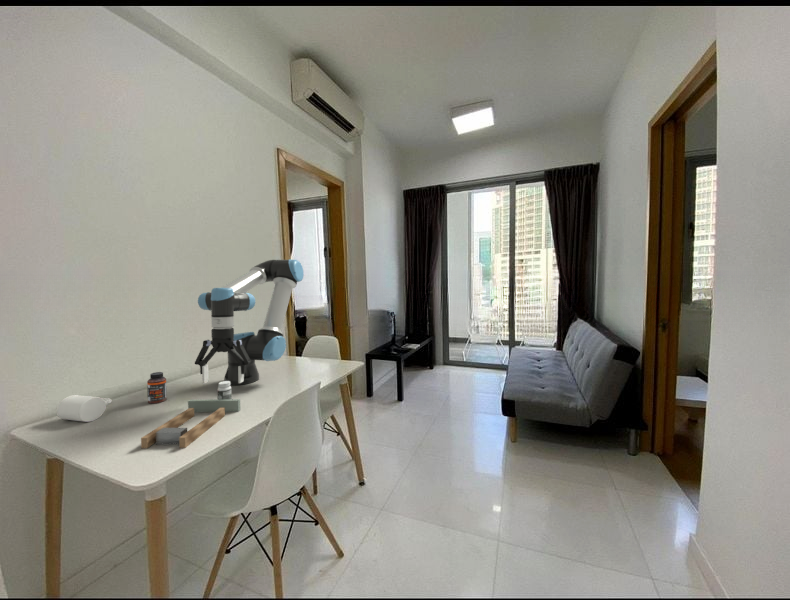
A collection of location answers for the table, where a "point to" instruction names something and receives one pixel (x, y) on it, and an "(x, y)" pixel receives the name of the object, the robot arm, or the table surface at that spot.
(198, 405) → the door edge rail
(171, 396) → the table surface
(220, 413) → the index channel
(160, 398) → the supplement bottle
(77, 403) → the mug
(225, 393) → the pill bottle
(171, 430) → the tall gray brick
